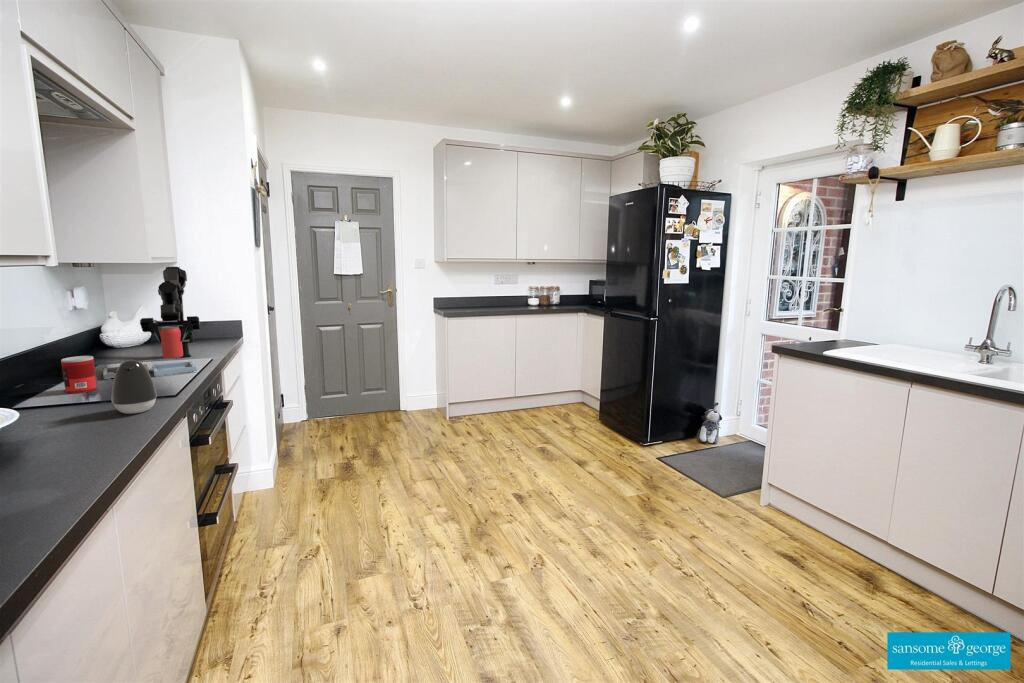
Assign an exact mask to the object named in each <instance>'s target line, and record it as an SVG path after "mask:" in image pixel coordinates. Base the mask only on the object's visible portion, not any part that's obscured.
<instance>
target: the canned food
mask: <svg viewBox="0 0 1024 683" xmlns="http://www.w3.org/2000/svg"><path fill="white" fill-rule="evenodd" d="M60 364H61V370H62V376H63V384H64V389H65V392H66V393H67V394H70V393H75V394H84V393H89V392H92V391H95V389H96V390H97V388H98V382H97V374H96V373H97V372H96V367H95V366H96V365H95V358H94V356H92V355H79V356H71V357H70V356H69V357H65V358H62V359H60ZM83 392H84V393H83Z"/></svg>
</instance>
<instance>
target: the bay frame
mask: <svg viewBox="0 0 1024 683" xmlns="http://www.w3.org/2000/svg"><path fill="white" fill-rule="evenodd" d="M142 364H143V363H142ZM143 365H144V366H145V367H146V369H147V370H148V372H149V373H150V370H149V367H148V364H147V363H145V364H143ZM118 367H119V366H114V367H113V366H112V367H104V368H103V372H102V373H103V374H102V375H103V380H104V379H109V380H111V379H110V378H114V377H115V374H116V373H108V372H116V371H117V369H118Z"/></svg>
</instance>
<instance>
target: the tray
mask: <svg viewBox="0 0 1024 683" xmlns="http://www.w3.org/2000/svg"><path fill="white" fill-rule="evenodd" d="M151 366H152V373H153V372H154V373H153V375H154V377H155V378H158V376H160V377H166V376H165V375H168V376H172V375H171V374H177V375H182V374H181V373H186V374H188V373H187V372H194V371H197V370H198V369H197V366H196V364H195V363H194V362H193V361H180V362H172V363H171V362H170V363H163V364H162V363H161V364H152V365H151Z"/></svg>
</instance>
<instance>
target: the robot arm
mask: <svg viewBox="0 0 1024 683" xmlns="http://www.w3.org/2000/svg"><path fill="white" fill-rule="evenodd" d="M162 275H163V276H162V278H163V280H164V281H163V282H161V283H160V284H159V285H158V289H157V292H158V296H160V299H161V300H162V304H161V305H160V319H161V320H156V319H154V317H143V318H141V319H140V320H139V324H140V328H141V329H142V332H143V333H150V334H154V335H155V337H156V338H157V340H158V343H161V338H160V331H161V330H160V328H159V327H165V326H178V327H179V329H180V331H181V341H182V347H183V356H182V357H181V358H188V357H192V354H191V353H190V347H189V346H190V345H189V344H192V343H194V335H193V331H194V330H201V323H200V318H199V316H197V315H195V316H194V315H190V316H186V319H185V317H184V316H185V315H184V303H183V301H184V300H183V295H184V294H185V288H186V286H187V285H186V282H188V275H187V272H186V270H184V269H181V268H180V266H166V267H165V269H164V270H162Z"/></svg>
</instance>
